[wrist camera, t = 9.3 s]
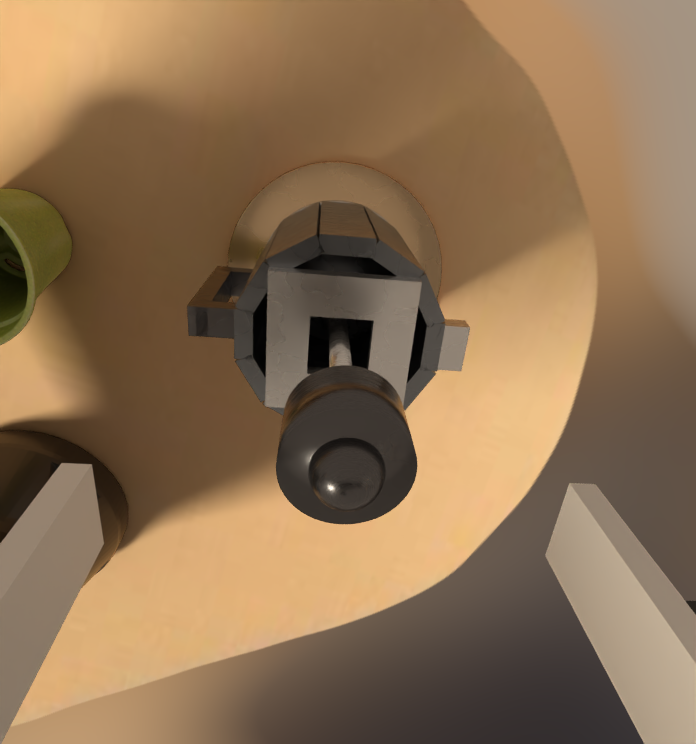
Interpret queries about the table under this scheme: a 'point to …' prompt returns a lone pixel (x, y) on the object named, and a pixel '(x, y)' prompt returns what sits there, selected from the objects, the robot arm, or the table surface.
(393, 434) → the plunger
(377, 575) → the table surface
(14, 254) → the plant pot
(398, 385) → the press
